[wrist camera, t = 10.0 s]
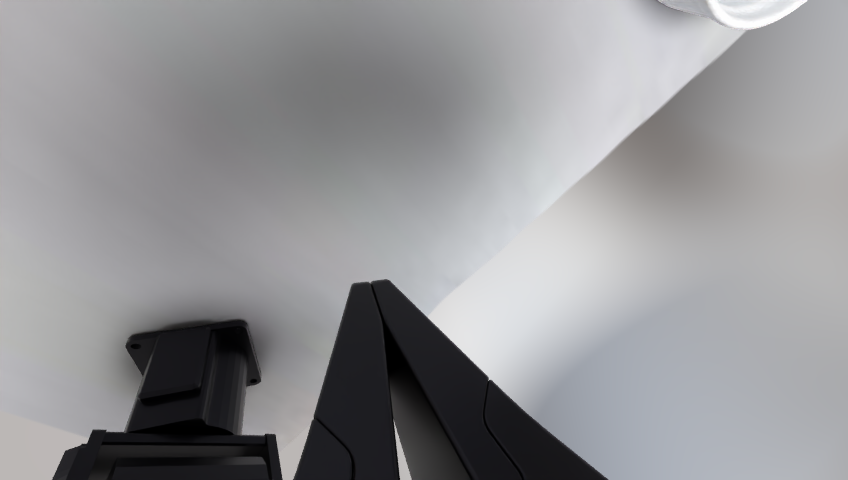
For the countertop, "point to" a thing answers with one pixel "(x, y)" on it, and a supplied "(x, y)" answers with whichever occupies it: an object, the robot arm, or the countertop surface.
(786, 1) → the ramekin
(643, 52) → the countertop surface
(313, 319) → the countertop surface
